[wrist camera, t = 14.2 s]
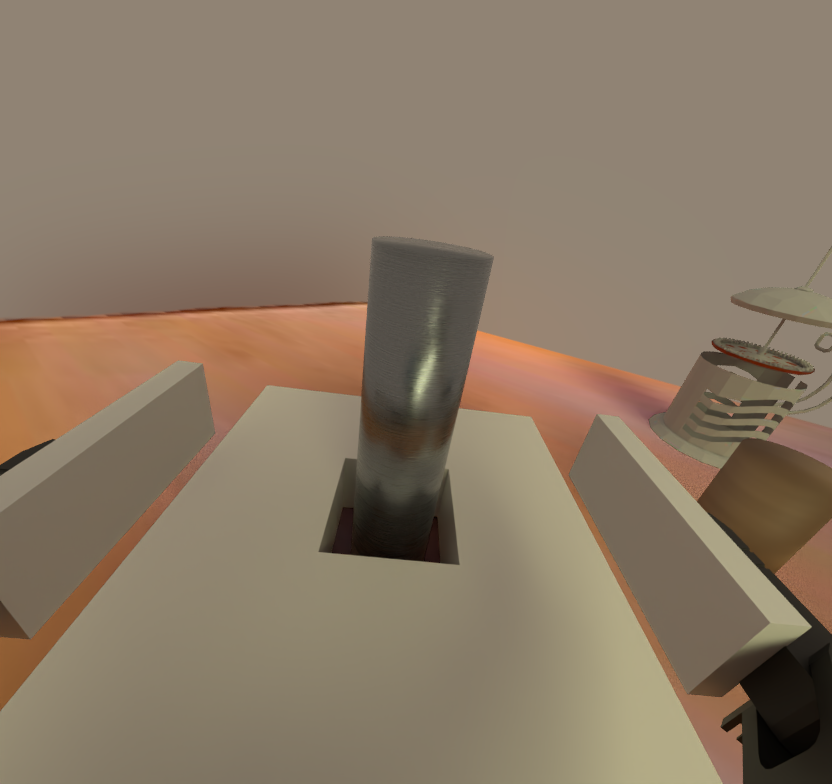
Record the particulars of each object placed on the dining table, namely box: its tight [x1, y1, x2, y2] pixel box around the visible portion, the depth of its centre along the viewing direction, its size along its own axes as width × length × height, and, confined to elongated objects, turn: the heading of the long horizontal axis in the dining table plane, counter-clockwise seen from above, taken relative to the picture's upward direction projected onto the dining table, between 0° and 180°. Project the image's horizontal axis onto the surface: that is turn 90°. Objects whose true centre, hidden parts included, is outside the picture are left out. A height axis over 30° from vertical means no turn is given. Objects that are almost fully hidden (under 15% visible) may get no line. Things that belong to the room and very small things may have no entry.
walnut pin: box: [697, 438, 832, 574], centre depth 18 cm, size 4×4×9 cm
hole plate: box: [0, 385, 723, 784], centre depth 18 cm, size 20×20×4 cm
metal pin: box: [351, 237, 494, 562], centre depth 15 cm, size 4×4×16 cm
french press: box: [649, 247, 832, 469], centre depth 29 cm, size 10×12×25 cm
